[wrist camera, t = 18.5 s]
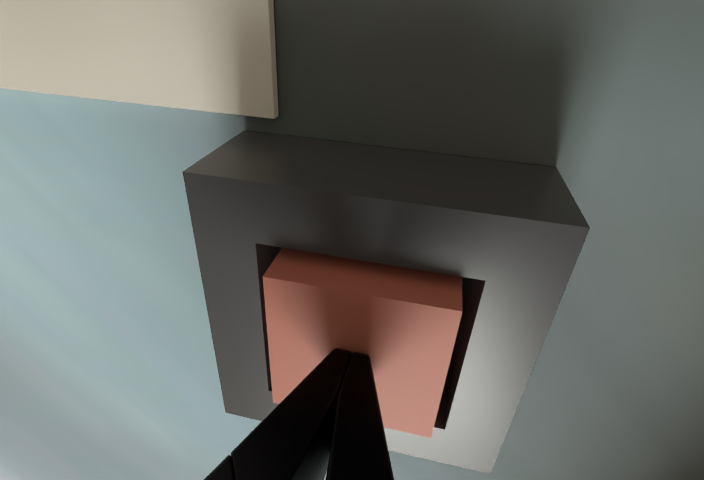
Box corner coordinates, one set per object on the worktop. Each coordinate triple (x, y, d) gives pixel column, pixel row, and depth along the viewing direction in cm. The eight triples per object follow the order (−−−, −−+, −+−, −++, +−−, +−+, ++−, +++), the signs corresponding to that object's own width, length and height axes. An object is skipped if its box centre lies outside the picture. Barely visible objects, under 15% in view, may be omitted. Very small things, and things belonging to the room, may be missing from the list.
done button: (307, 326, 14) (272, 402, 11) (305, 213, 11) (262, 276, 9) (436, 350, 13) (431, 437, 10) (461, 236, 11) (462, 311, 8)
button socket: (263, 343, 15) (225, 412, 13) (244, 130, 11) (182, 171, 9) (484, 388, 14) (490, 473, 12) (556, 167, 10) (589, 228, 7)
